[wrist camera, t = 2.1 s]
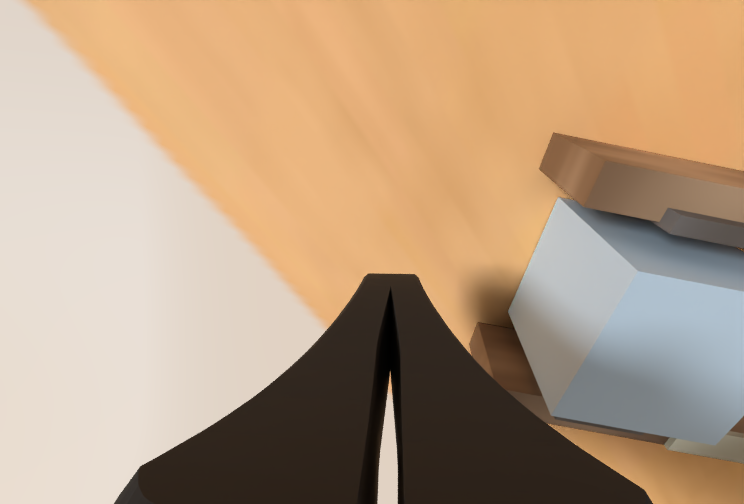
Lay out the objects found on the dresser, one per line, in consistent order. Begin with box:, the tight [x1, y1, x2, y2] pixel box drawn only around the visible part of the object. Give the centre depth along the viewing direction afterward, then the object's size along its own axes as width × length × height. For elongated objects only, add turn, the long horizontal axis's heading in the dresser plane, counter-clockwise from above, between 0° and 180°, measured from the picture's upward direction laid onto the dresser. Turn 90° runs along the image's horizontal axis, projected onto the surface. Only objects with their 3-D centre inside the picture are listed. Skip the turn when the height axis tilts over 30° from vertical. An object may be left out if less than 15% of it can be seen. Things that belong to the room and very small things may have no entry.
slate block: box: [508, 197, 744, 445], centre depth 12 cm, size 5×5×5 cm
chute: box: [469, 133, 744, 464], centre depth 13 cm, size 14×9×4 cm, turn 80°
